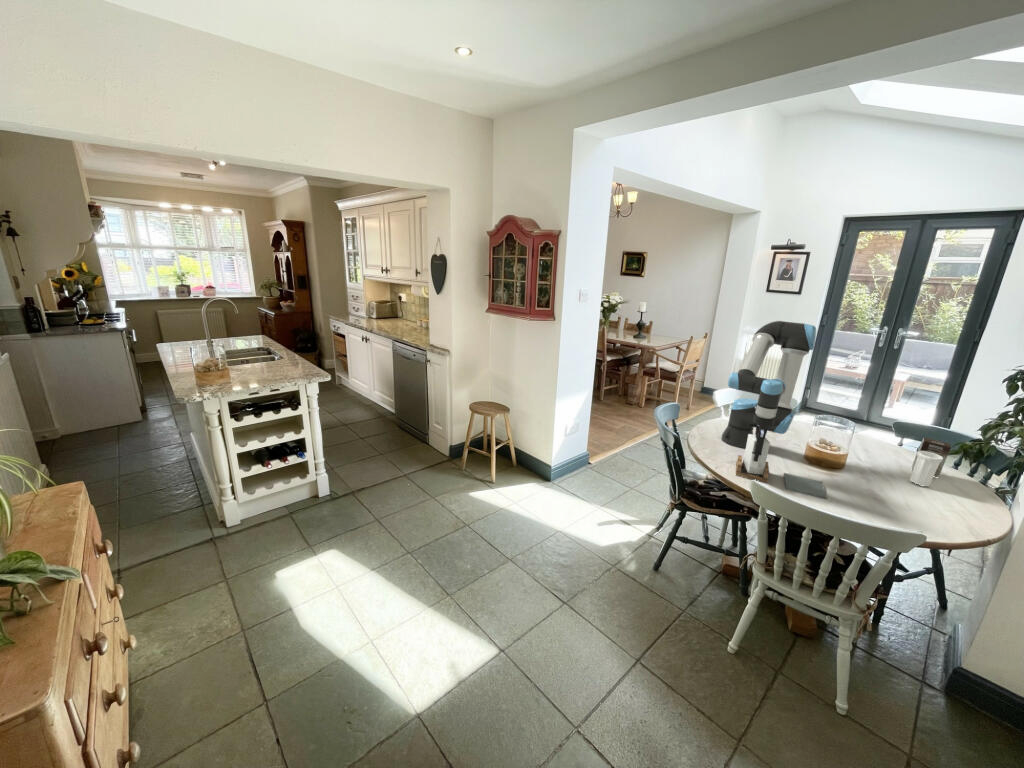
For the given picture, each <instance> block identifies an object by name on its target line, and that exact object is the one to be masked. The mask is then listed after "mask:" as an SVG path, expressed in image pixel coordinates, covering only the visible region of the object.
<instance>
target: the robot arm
mask: <svg viewBox="0 0 1024 768" xmlns="http://www.w3.org/2000/svg"><path fill="white" fill-rule="evenodd" d="M816 337H817V328H816V326H815V325H813V324H808V323H803V322H802V323H801V322H790V321H783V320H776V321H772V322H769V323H766V324H765V325H762V326H761V327H760V328H759V329H757V330H756V332H755V333H754V335H753V337H752V340H751V341H752V343H751V346H750V348H749V350H748V351H747V354H746V356H745V358H744V360H743V361H742V363H741V365H740V367H739V369H738V371H737V372H736V371H735V372H731V373H730V374H729V377H728V380H727V386H728V388H730V389H733V390H736V391H741V392H745V393H746V392H747V393H751V394H755V395H758V400H756V399H753V398H737V399H735V400H733V402H732V404H731V405H732V406H731V408H730V409H731V410H730V414H729V418H728V419H729V420H728V422H727V423H728V424H727V426H726V428H725V429H724V431H723V432H722V434H721V441H722V442H724V443H725V444H728V445H729V446H733V447H737V448H742V449H746V444H747V439H748V434H753V435H756V441H757V442H756V445H755V450H754V452H752V453H753V456H752V460H751V464H750V467H754V468H757V467H758V463H759V459H760V455H761V453H762V448H763V444H764V439H765V438H766V435H767V432H770V433H773V434H780V435H784V434H786V433H787V431H788V430H789V428H790V427H791V424H792V422H793V419H794V416H795V413H794V411H793V407H792V406H791V402H792V398H793V394H794V392H795V388H796V386H797V385H796V384H797V382H798V381H797V380H798V377H799V374H800V370H801V367H802V364H803V359H804V357H805V356H806V355H809V353H810V351H813V350H815V343H816ZM774 345H777V346H780V350H781V352H782V356H781V359H780V362H779V366H778V369H777V373H776V376H775V378H772V379H769V378H765V377H760V376H758V373H759V371H760V369H761V367H762V366H763V365H762V364H763V363H764V360H765V358H766V357H767V354H768V352H769V350H770V349H771V348H772V347H773V346H774ZM754 428H755V434H754V431H753V430H754Z"/></svg>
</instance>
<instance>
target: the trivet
mask: <svg viewBox="0 0 1024 768" xmlns="http://www.w3.org/2000/svg"><path fill="white" fill-rule="evenodd" d="M782 474H783V481H784V485H785V490H788V491H793V492H797V493H800V494H805V495H809V496H813V497H816V498H817V497H818V498H821V499H824V500H827V498H828V495H827V492H826V490H825V487H824V485H823V481H822V480H817V479H812V478H808V477H803V476H799V475H795V474H792V473H786V472H783V473H782Z"/></svg>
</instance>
